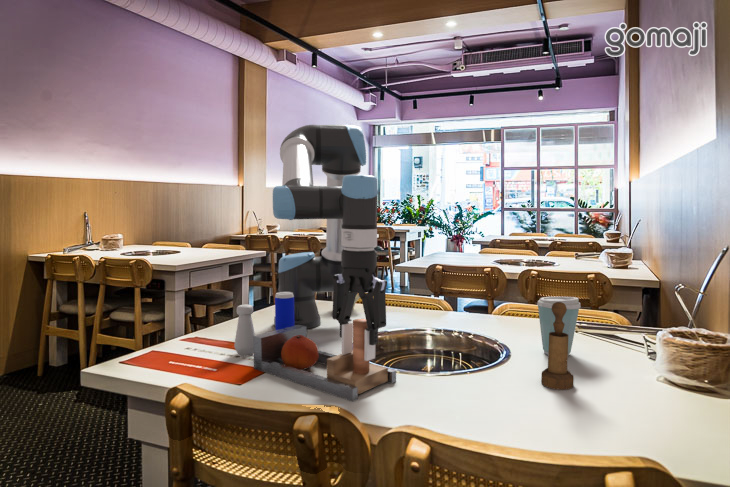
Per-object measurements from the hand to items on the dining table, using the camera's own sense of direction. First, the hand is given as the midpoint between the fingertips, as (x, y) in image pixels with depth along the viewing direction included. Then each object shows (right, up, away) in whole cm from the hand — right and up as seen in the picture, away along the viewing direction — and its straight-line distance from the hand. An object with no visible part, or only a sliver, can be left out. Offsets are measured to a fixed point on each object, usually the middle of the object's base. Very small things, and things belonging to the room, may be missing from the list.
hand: (358, 355), depth 109 cm
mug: (-4, -1, +81) cm, 81 cm away
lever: (0, -6, +1) cm, 6 cm away
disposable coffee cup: (+52, -5, +24) cm, 57 cm away
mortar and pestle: (+43, -7, +1) cm, 44 cm away
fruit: (-14, -6, +12) cm, 19 cm away
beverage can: (-21, -5, +31) cm, 37 cm away
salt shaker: (-30, -5, +24) cm, 39 cm away
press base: (-9, -6, +8) cm, 13 cm away
